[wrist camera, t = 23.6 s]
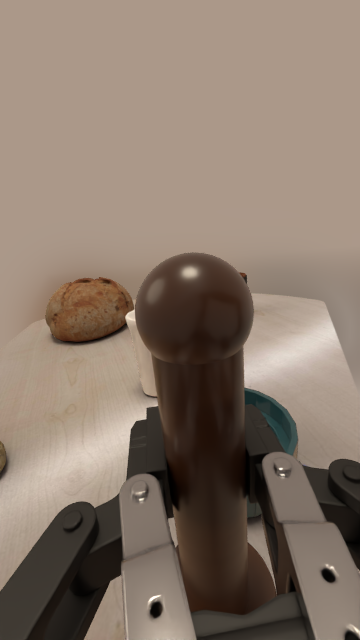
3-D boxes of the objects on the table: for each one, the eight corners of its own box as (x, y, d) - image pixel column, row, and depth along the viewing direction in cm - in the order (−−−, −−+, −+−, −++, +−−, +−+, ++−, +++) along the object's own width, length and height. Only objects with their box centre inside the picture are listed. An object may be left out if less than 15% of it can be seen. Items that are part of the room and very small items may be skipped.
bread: (104, 347, 69) (92, 289, 64) (31, 344, 76) (15, 291, 71) (145, 313, 93) (139, 269, 88) (87, 313, 100) (78, 272, 95)
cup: (146, 407, 44) (132, 325, 40) (132, 384, 51) (119, 312, 47) (190, 391, 48) (182, 313, 43) (171, 371, 55) (162, 302, 50)
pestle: (237, 536, 16) (226, 241, 11) (304, 661, 11) (345, 245, 6) (151, 579, 14) (86, 258, 9) (187, 743, 10) (98, 282, 4)
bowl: (246, 406, 42) (245, 375, 41) (327, 488, 29) (332, 446, 27) (151, 438, 38) (145, 405, 36) (194, 553, 24) (188, 509, 22)
